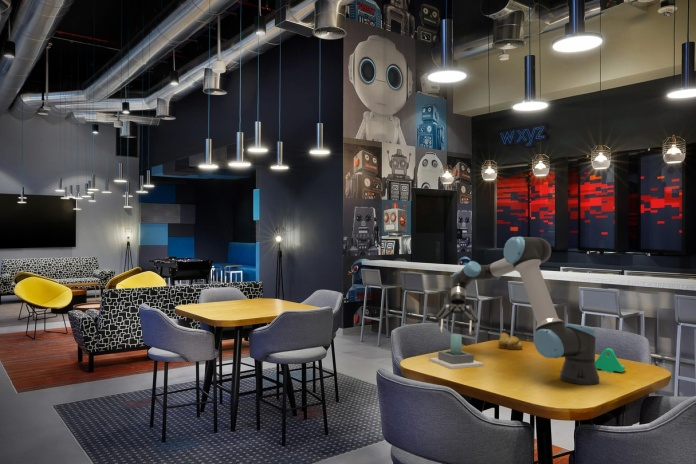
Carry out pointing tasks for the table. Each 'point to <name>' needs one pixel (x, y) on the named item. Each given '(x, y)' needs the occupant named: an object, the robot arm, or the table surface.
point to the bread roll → (509, 342)
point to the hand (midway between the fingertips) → (455, 332)
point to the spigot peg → (456, 344)
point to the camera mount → (609, 362)
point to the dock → (454, 366)
